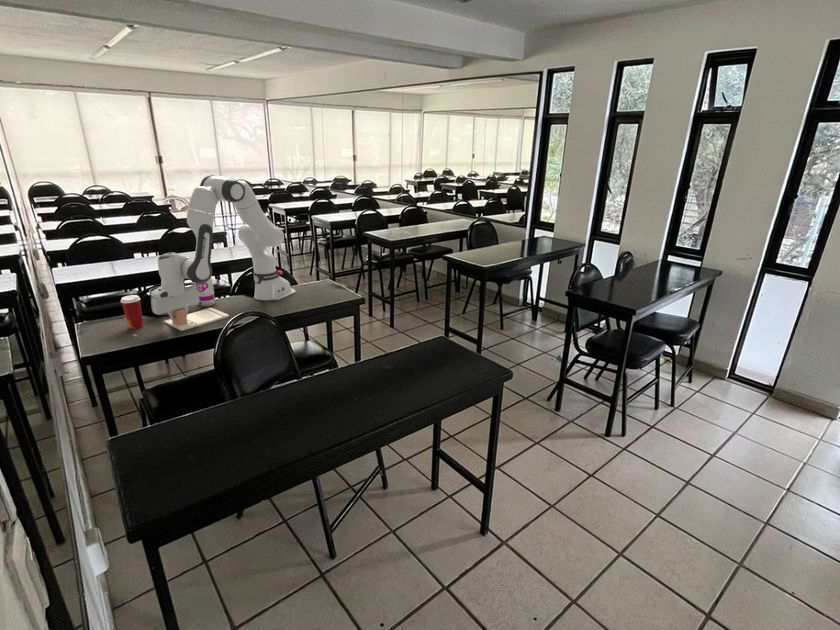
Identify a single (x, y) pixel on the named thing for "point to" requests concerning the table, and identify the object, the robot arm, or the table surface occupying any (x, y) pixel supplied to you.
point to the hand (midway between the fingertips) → (179, 317)
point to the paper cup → (132, 311)
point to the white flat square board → (206, 316)
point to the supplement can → (206, 293)
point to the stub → (180, 320)
